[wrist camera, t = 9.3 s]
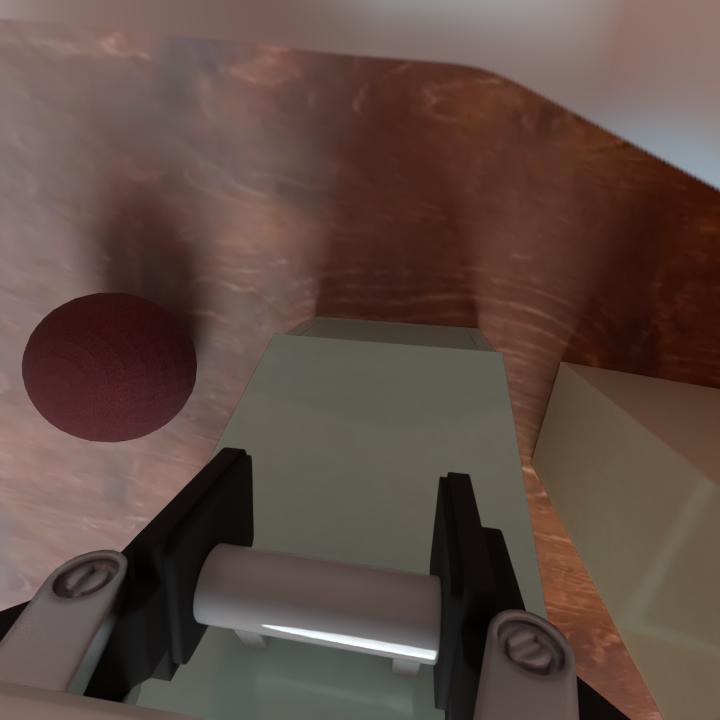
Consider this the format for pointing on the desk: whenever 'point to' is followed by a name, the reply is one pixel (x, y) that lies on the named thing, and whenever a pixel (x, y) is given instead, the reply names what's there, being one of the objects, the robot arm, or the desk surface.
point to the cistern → (644, 519)
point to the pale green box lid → (348, 531)
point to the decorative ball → (109, 367)
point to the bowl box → (393, 333)
